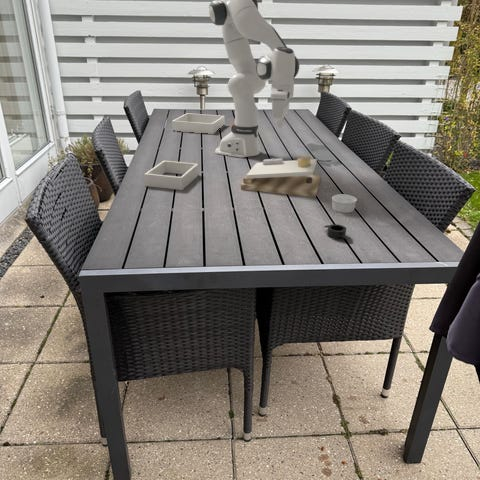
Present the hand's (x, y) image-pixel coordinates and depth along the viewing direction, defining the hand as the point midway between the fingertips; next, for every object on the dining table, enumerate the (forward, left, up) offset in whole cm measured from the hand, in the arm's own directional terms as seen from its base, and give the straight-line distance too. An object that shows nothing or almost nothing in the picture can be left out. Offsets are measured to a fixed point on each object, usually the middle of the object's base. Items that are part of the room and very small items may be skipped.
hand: (280, 126), depth 190 cm
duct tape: (+28, -51, -23) cm, 63 cm away
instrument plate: (+3, -7, -16) cm, 18 cm away
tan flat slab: (+3, -7, -22) cm, 24 cm away
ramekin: (+29, -27, -23) cm, 46 cm away
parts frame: (-42, -16, -22) cm, 50 cm away
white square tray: (-63, +80, -22) cm, 104 cm away
